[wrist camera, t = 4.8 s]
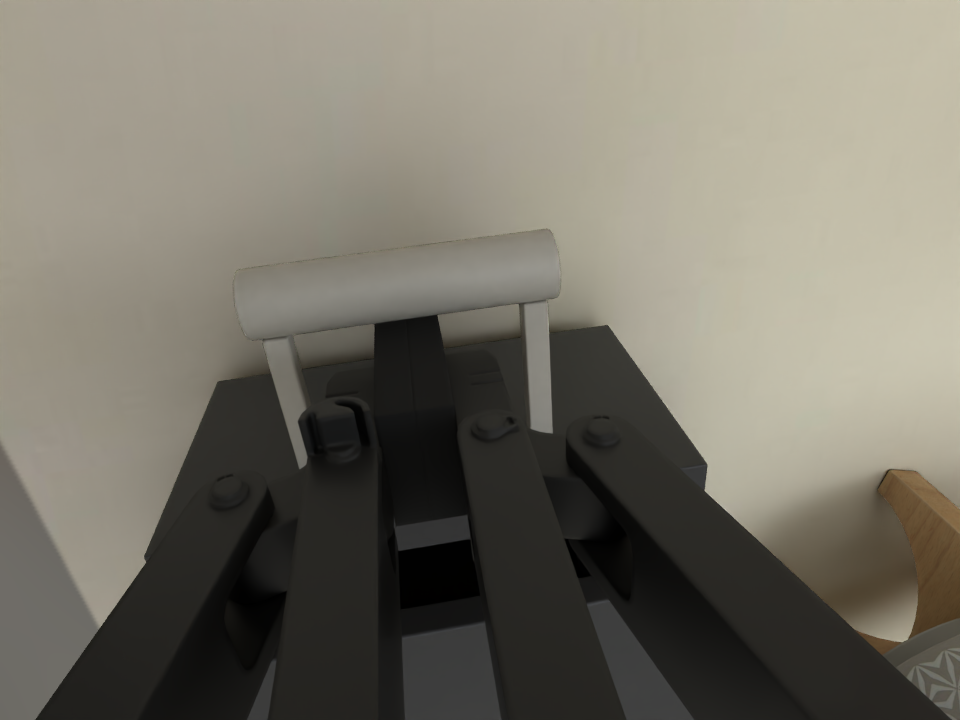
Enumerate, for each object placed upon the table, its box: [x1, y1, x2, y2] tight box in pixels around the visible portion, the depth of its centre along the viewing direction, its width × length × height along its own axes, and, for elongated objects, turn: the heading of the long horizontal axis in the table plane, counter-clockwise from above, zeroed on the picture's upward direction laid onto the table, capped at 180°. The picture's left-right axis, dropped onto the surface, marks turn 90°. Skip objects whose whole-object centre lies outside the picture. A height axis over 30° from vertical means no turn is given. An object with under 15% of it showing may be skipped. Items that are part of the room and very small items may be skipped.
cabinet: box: [247, 576, 694, 720], centre depth 24 cm, size 16×15×10 cm
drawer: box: [144, 229, 707, 609], centre depth 21 cm, size 20×14×8 cm, turn 5°
